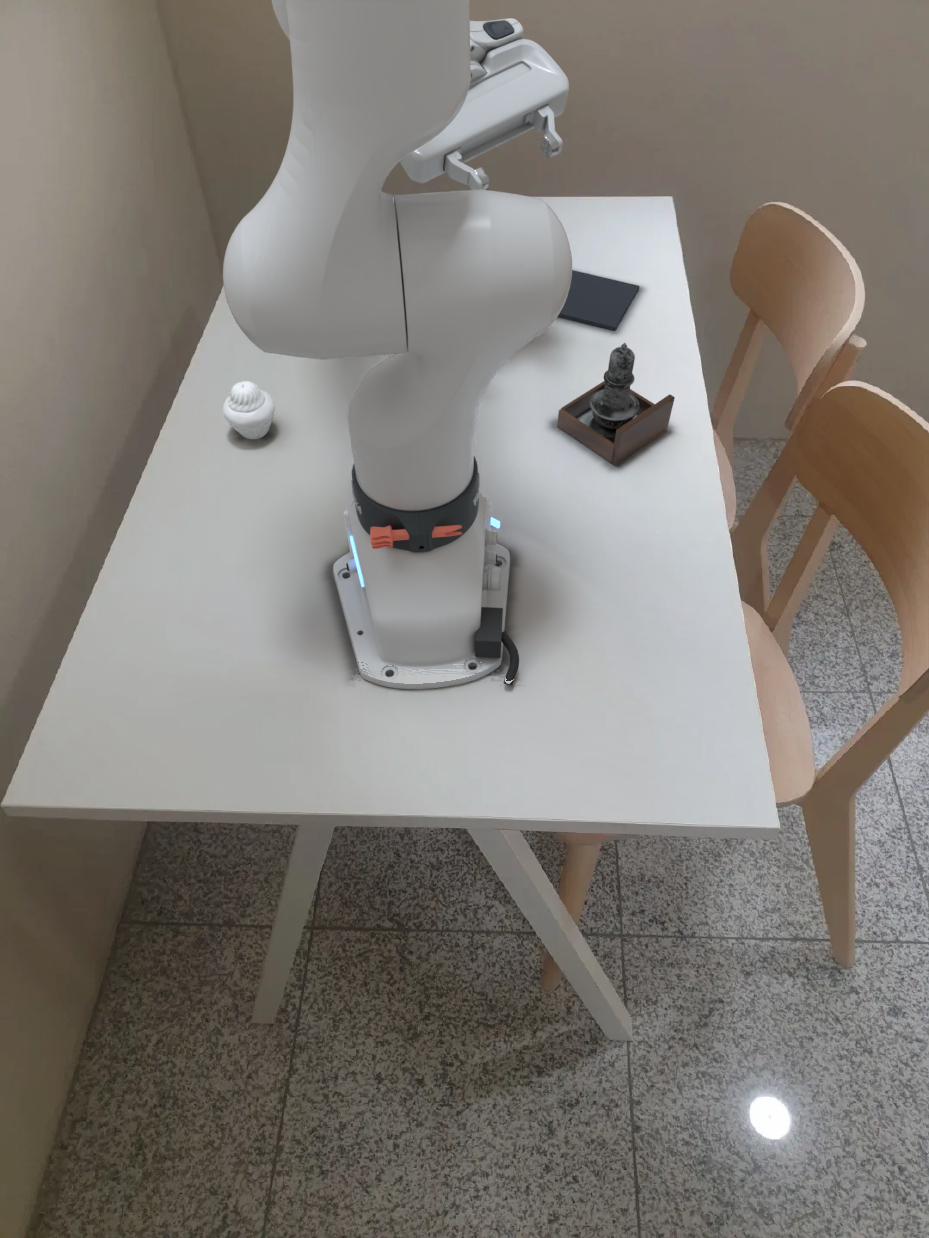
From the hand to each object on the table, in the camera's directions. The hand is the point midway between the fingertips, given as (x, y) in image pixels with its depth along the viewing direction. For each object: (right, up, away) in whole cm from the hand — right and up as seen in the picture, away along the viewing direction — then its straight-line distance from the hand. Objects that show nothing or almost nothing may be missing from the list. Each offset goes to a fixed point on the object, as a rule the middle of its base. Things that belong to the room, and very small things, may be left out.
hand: (520, 170), depth 88 cm
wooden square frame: (+12, -24, +15) cm, 30 cm away
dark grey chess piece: (+12, -24, +15) cm, 31 cm away
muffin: (-32, -24, +15) cm, 43 cm away
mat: (+12, -2, +31) cm, 33 cm away
